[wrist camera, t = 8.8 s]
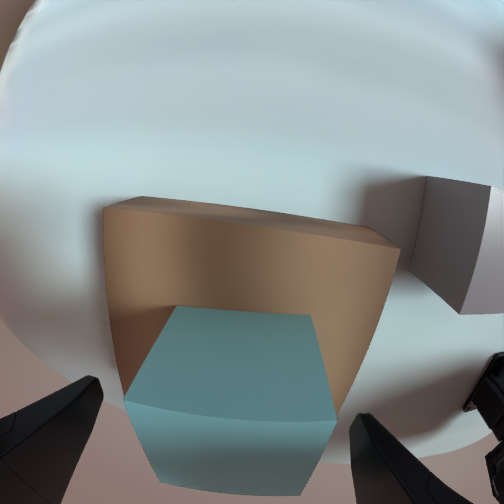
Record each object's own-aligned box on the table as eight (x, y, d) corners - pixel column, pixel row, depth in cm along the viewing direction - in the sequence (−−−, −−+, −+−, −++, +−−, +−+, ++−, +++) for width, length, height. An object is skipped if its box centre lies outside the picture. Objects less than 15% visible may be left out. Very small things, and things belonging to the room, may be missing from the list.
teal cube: (310, 314, 10) (337, 420, 5) (293, 403, 11) (300, 495, 7) (177, 305, 10) (122, 399, 5) (186, 395, 12) (159, 481, 7)
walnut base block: (365, 225, 13) (401, 248, 9) (315, 391, 16) (323, 438, 12) (145, 195, 13) (103, 207, 9) (149, 367, 16) (127, 409, 12)
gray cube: (486, 195, 11) (546, 212, 7) (469, 275, 13) (519, 312, 8) (425, 175, 12) (491, 186, 7) (408, 269, 13) (459, 314, 8)
